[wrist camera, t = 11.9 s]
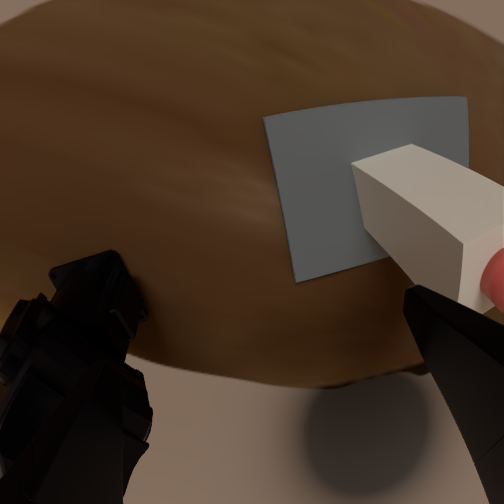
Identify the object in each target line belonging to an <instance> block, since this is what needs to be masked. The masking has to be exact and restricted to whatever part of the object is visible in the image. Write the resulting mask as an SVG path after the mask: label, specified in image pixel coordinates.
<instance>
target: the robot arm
mask: <svg viewBox="0 0 504 504" xmlns="http://www.w3.org/2000/svg"><path fill="white" fill-rule="evenodd" d="M109 256H112V257H113V258H114V259H110V258H109ZM53 273H54V274H55V275H56V276H55V275H54V274H53ZM49 278H50V279H51V281H52V283H53V285H54V286H55V288H56V290H57V291H56V293H55V294H54V296H53V298H52V299H51V301H50V302H49V301H48V300H47V297H46V296H45V295H44V294H42V293H40V294H39V295H38V296H37V297H36V298H35V299H34V298H33V299H32V300H29V301H27V300H22V299H20V300H19V302H18V303H17V304H16V306H15V307H14V309H13V310H12V312H11V314H10V315H9V317H8V318H7V320H6V322H5V324H4V326H3V328H2V330H1V332H0V504H123V496H124V495H125V492H126V488H127V485H128V482H129V479H130V476H131V474H132V471H133V469H134V467H135V466H136V464H137V462H138V460H139V459H140V457H141V456H142V455H143V454H144V453H145V451H146V450H147V449H148V448H149V443H147V442H146V440H147V438H148V436H149V434H150V431H151V426H152V416H153V410H152V408H151V407H150V405H149V400H148V393H147V390H146V386H145V381H144V375H143V373H142V372H140V371H139V370H137V369H136V370H135V369H133V368H131V367H130V366H129V365H127V364H126V363H125V362H124V361H125V359H126V354H127V350H128V345H129V341H130V340H134V338H135V336H136V331H137V327H138V323H139V322H144V321H146V320H147V317H148V313H147V311H146V309H145V307H144V305H143V299H142V297H141V295H140V293H139V291H138V289H137V287H136V285H135V283H134V281H133V279H132V277H131V276H130V275H129V274H127V272H126V270H125V268H124V266H123V264H122V262H121V260H120V258H119V255H118V254H117V252H115V251H114V250H108V251H105V252H102V253H98V254H95V255H92V256H89V257H85V258H82V259H79V260H76V261H73V262H70V263H66V264H63V265H60V266H57V267H54V268H52V269H51V270H50V271H49ZM403 312H404V316H405V318H406V321H407V323H408V325H409V327H410V330H411V332H412V334H413V337H414V339H415V341H416V344H417V346H418V348H419V351H420V353H421V355H422V357H423V359H424V361H425V363H426V365H427V367H428V369H429V370H430V372H431V374H432V376H433V378H434V380H435V382H436V384H437V385H438V387H439V389H440V391H441V393H442V395H443V397H444V399H445V401H446V403H447V405H448V407H449V409H450V411H451V413H452V415H453V417H454V419H455V422H456V424H457V426H458V428H459V430H460V432H461V434H462V437H463V439H464V441H465V443H466V446H467V448H468V450H469V453H470V455H471V457H472V460H473V462H474V463H475V464H474V465H475V467H476V470H477V472H478V474H479V477H480V480H481V482H482V485H483V487H484V490H485V492H486V495H487V498H488V501H489V504H504V325H503V324H501V323H499V322H497V321H495V320H493V319H491V318H489V317H487V316H485V315H483V314H481V313H479V312H477V311H475V310H473V309H471V308H469V307H467V306H465V305H462V304H460V303H458V302H456V301H454V300H452V299H450V298H448V297H446V296H444V295H441V294H439V293H437V292H435V291H433V290H431V289H429V288H427V287H424V286H422V285H420V284H416V285H413V286H410V287H408V288H407V289H406V291H405V298H404V305H403ZM140 315H143V316H140Z"/></svg>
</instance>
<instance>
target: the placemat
mask: <svg viewBox="0 0 504 504" xmlns="http://www.w3.org/2000/svg"><path fill="white" fill-rule="evenodd" d="M262 119H263V123H264V128H265V132H266V137H267V141H268V146H269V151H270V155H271V160H272V165H273V170H274V174H275V179H276V184H277V189H278V194H279V199H280V204H281V209H282V215H283V220H284V225H285V230H286V236H287V241H288V246H289V252H290V257H291V263H292V268H293V274H294V279H295V281H296V283H297V282H301V281H305V280H308V279H312V278H316V277H320V276H323V275H327V274H330V273H334V272H338V271H341V270H345V269H348V268H352V267H355V266H359V265H362V264H366V263H369V262H373V261H376V260H380V259H383V258H386V257H390V255H389V254H388V253H387V252H386V251H385V250H384V248H383V247H382V246H381V245H380V244H379V243H378V242H377V241H376V240H375V239H374V238H373V237H372V236H371V234H370V233H369V232H368V231H367V230H366V229H365V228H364V224H363V219H362V214H361V208H360V203H359V198H358V194H357V189H356V184H355V180H354V175H353V171H352V167H351V163H353V162H356V161H359V160H362V159H365V158H368V157H371V156H374V155H377V154H380V153H384V152H387V151H390V150H393V149H396V148H400V147H403V146H406V145H409V144H413V145H416V146H418V147H421V148H423V149H426V150H428V151H430V152H433V153H435V154H437V155H440V156H442V157H444V158H447V159H449V160H451V161H453V162H455V163H457V164H460V165H462V166H464V167H466V168H469V126H468V106H467V97H463V96H438V97H411V98H395V99H382V100H371V101H361V102H353V103H344V104H337V105H330V106H323V107H316V108H310V109H304V110H298V111H293V112H287V113H282V114H277V115H272V116H267V117H262Z"/></svg>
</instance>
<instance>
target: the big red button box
mask: <svg viewBox="0 0 504 504" xmlns="http://www.w3.org/2000/svg"><path fill="white" fill-rule="evenodd" d="M351 167H352V171H353V175H354V180H355V184H356V189H357V194H358V198H359V203H360V208H361V214H362V219H363V224H364V228H365V229H366V230H367V231H368V232H369V233H370V234H371V236H372V237H373V238H374V239H375V240H376V241H377V242H378V243H379V244H380V245H381V246H382V247H383V248H384V250H385V251H386V252H387V253H388V254H389V255H390V256H391V257H392V258H393V260H394V261H395V262H396V263H397V264H398V265H399V266H400V267H401V269H402V270H403V271H404V272H405V273H406V274H407V275H408V277H409V278H410V279H411V280H412V281H413V282H414V284H415V285H416V284H420V285H422V286H424V287H427V288H429V289H431V290H433V291H435V292H437V293H439V294H441V295H444V296H446V297H448V298H450V299H452V300H454V301H456V302H458V303H460V304H462V305H465V306H467V307H469V308H471V309H473V310H475V311H477V312H479V313H481V314H483V313H485V312H486V311H488V310H489V309H491V308H492V307H494V306H496V307H497V308H498V309H499V310H500V311H501V312H502V313H504V187H503V186H501V185H499V184H497V183H495V182H493V181H492V180H490V179H488V178H486V177H484V176H482V175H480V174H478V173H476V172H474V171H472V170H470V169H468V168H466V167H464V166H462V165H460V164H457V163H455V162H453V161H451V160H449V159H447V158H444V157H442V156H440V155H437V154H435V153H433V152H430V151H428V150H426V149H423V148H421V147H418V146H416V145H413V144H409V145H406V146H403V147H400V148H396V149H393V150H390V151H387V152H384V153H380V154H377V155H374V156H371V157H368V158H365V159H362V160H359V161H356V162H353V163H351Z"/></svg>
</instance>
